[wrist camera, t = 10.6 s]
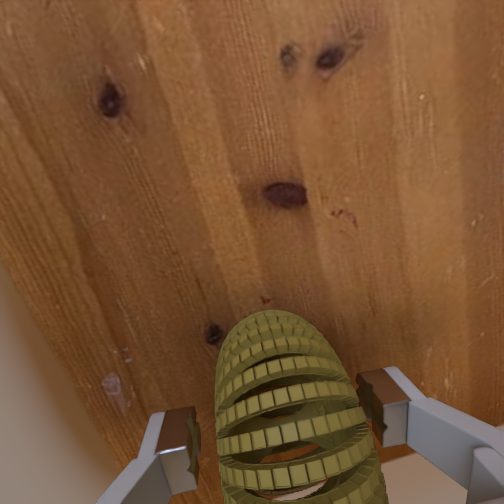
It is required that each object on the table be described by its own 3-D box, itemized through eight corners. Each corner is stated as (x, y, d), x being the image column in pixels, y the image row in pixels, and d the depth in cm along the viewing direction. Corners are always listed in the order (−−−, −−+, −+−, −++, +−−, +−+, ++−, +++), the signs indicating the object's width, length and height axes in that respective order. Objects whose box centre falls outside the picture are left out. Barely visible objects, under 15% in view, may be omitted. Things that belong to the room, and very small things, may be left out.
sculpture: (209, 287, 11) (180, 508, 4) (297, 270, 11) (448, 442, 4) (239, 425, 13) (263, 751, 6) (313, 408, 14) (431, 697, 6)
